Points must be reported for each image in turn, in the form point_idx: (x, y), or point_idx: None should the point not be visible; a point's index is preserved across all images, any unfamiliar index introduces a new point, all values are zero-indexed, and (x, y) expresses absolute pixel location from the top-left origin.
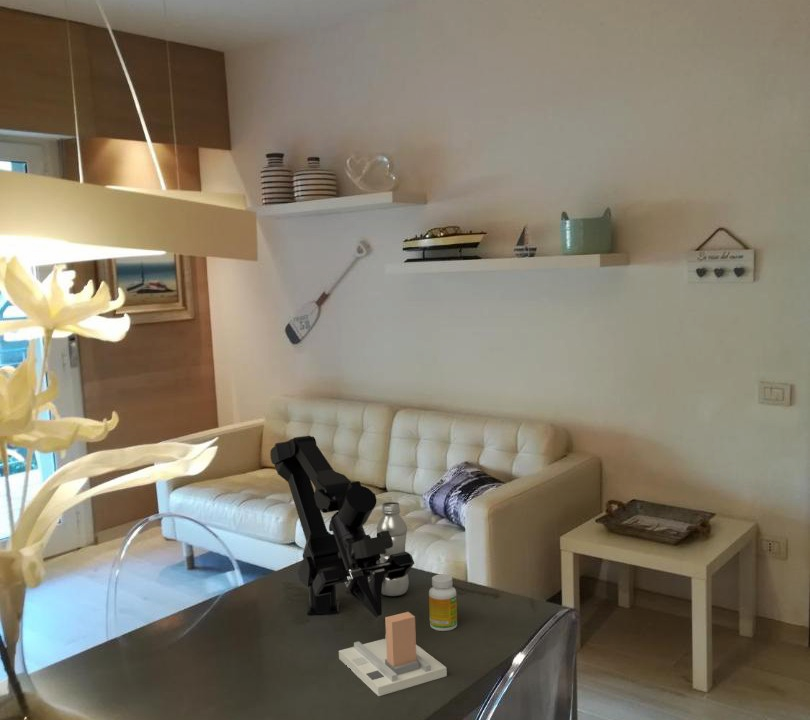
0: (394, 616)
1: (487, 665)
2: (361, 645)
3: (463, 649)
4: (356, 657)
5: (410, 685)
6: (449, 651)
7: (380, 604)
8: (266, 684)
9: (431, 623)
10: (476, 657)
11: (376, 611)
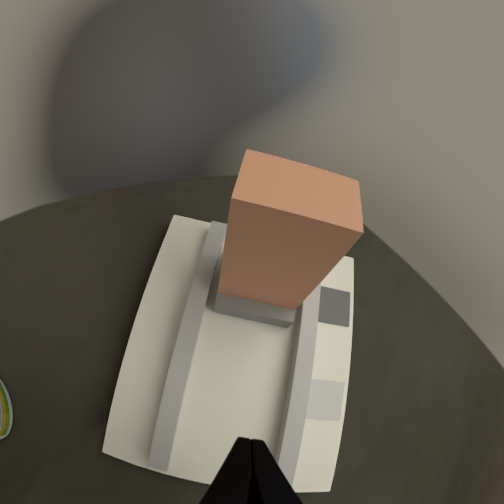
0: (322, 207)
1: (88, 203)
2: (285, 459)
3: (48, 285)
4: (318, 428)
5: None
6: (71, 304)
7: (227, 471)
8: (465, 437)
9: (5, 423)
10: (67, 239)
11: (268, 451)
